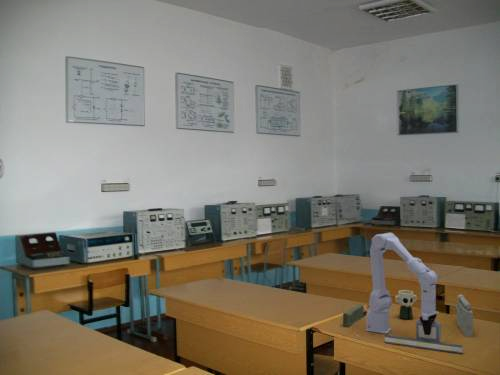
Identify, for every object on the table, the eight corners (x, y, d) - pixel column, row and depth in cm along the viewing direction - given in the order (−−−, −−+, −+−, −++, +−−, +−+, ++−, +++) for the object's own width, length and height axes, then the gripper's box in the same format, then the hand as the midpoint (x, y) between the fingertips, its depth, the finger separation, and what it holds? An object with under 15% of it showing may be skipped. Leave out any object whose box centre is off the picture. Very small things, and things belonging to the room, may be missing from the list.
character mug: (398, 320, 249) (398, 293, 249) (392, 316, 256) (392, 290, 256) (420, 319, 250) (419, 292, 250) (413, 315, 258) (413, 289, 257)
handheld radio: (341, 326, 241) (362, 314, 262) (348, 328, 240) (368, 315, 260) (341, 312, 241) (363, 301, 262) (348, 313, 239) (369, 302, 260)
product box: (438, 342, 212) (438, 325, 212) (416, 339, 217) (416, 322, 216) (440, 339, 216) (440, 322, 216) (418, 336, 221) (418, 319, 220)
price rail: (384, 343, 217) (384, 336, 217) (386, 341, 219) (385, 334, 219) (462, 354, 203) (462, 346, 202) (462, 352, 204) (462, 345, 204)
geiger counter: (475, 305, 223) (464, 291, 248) (460, 304, 224) (450, 291, 249) (475, 337, 224) (463, 320, 248) (459, 336, 225) (449, 320, 249)
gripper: (435, 305, 208) (435, 339, 208) (441, 297, 221) (441, 329, 221) (417, 303, 211) (417, 336, 212) (423, 295, 224) (423, 327, 224)
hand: (428, 332), depth 216 cm, fingers closed on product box, 4 cm apart
